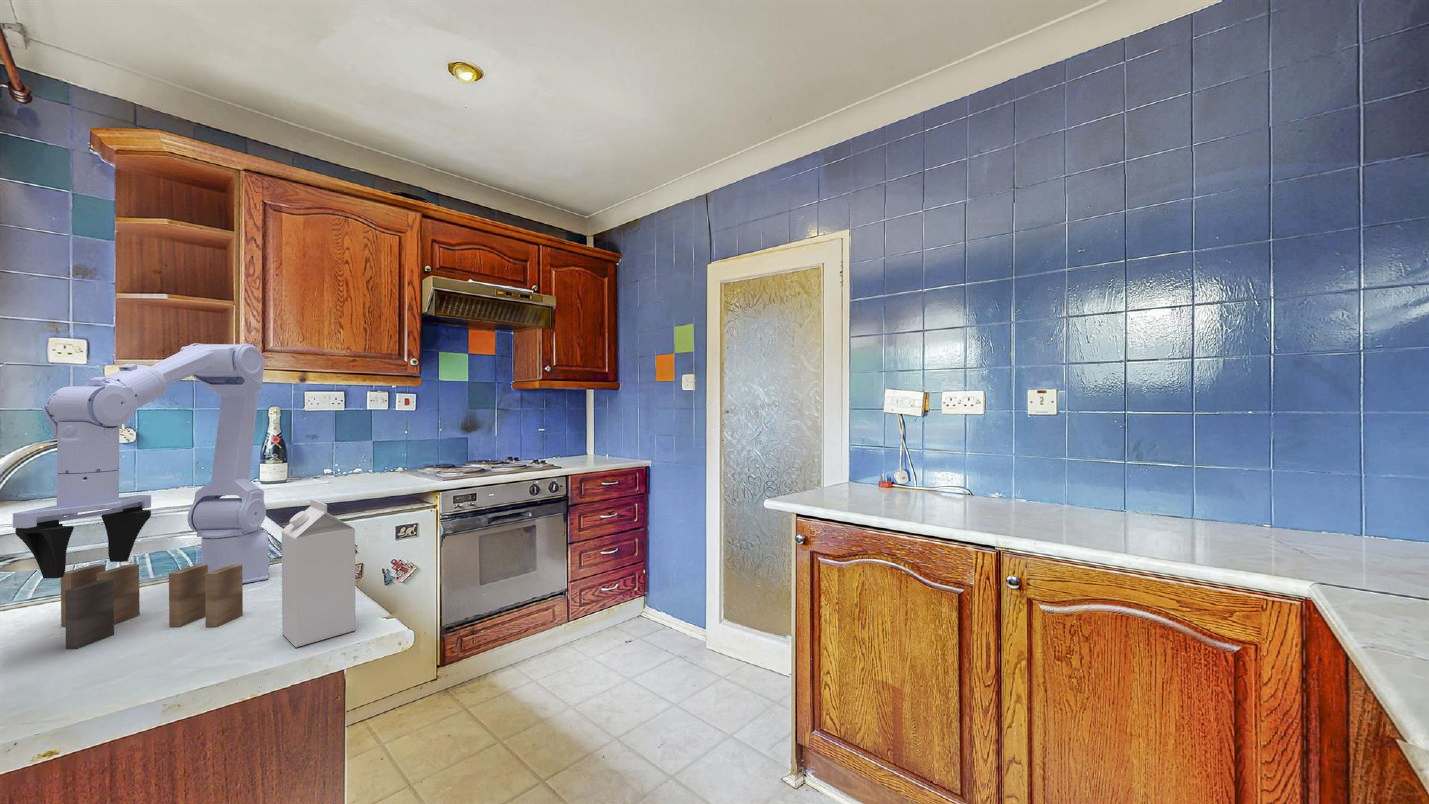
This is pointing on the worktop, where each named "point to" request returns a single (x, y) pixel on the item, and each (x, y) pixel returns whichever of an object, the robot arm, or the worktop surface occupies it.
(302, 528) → the milk carton
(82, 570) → the domino
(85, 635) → the ebony domino
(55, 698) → the worktop surface
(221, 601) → the domino
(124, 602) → the domino
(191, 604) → the domino
